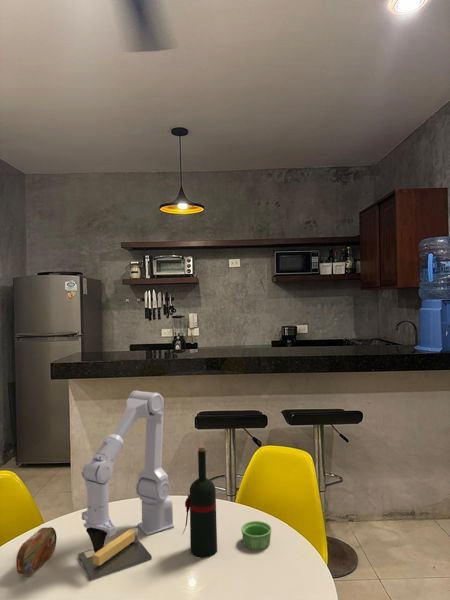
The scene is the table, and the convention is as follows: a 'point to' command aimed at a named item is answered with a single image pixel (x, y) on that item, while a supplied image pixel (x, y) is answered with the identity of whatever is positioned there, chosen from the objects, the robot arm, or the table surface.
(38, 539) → the tin
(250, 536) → the ramekin
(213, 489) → the wine bottle
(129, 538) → the tan wooden beam
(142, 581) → the table surface
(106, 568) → the panel
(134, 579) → the table surface
